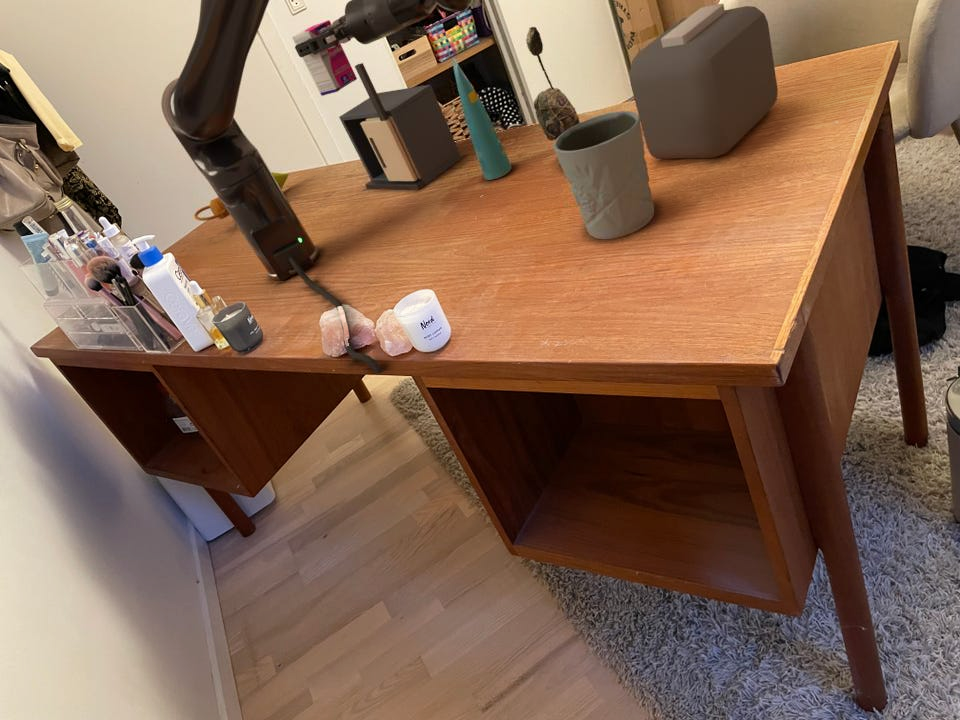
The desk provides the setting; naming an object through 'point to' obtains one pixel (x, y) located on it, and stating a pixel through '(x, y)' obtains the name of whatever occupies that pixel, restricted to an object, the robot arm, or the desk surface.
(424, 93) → the closet
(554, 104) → the plant with pod
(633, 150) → the grey embossed cup
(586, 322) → the desk surface
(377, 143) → the door
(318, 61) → the supplement box
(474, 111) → the teal cone
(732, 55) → the alarm clock
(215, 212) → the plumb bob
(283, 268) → the robot arm
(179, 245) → the desk surface
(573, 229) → the desk surface
